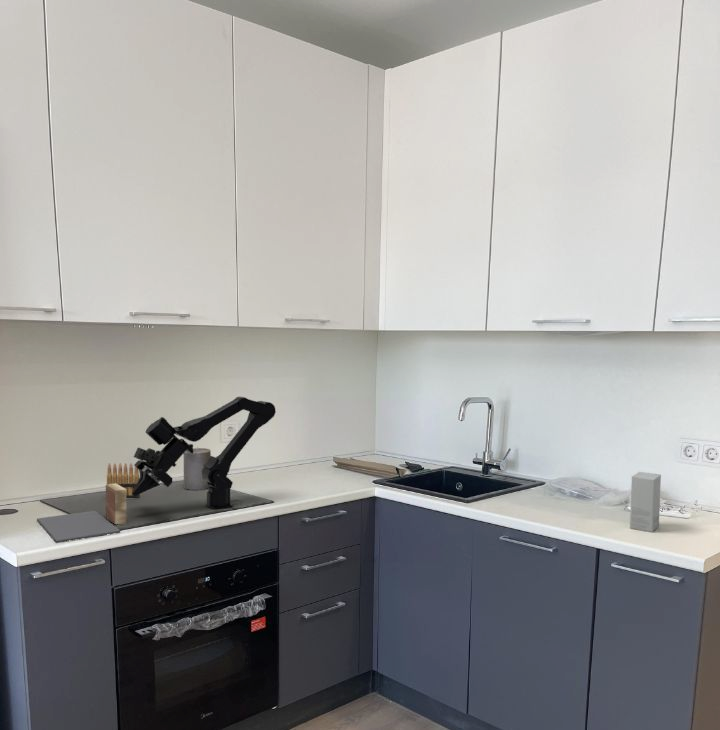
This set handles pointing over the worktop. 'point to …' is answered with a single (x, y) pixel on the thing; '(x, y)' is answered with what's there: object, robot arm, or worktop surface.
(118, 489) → the wooden block
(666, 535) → the worktop surface
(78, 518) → the rubber mat
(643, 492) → the skincare box
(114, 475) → the ammunition clip
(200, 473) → the pillar candle
